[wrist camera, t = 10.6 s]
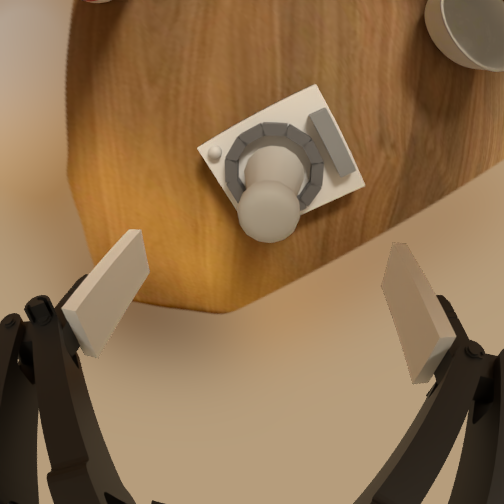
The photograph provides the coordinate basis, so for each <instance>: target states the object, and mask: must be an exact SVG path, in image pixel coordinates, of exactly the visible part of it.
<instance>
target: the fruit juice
mask: <svg viewBox="0 0 504 504" xmlns="http://www.w3.org/2000/svg"><path fill="white" fill-rule="evenodd" d="M83 1H87V2H90V3H104V2H108V1H111V0H83Z"/></svg>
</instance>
